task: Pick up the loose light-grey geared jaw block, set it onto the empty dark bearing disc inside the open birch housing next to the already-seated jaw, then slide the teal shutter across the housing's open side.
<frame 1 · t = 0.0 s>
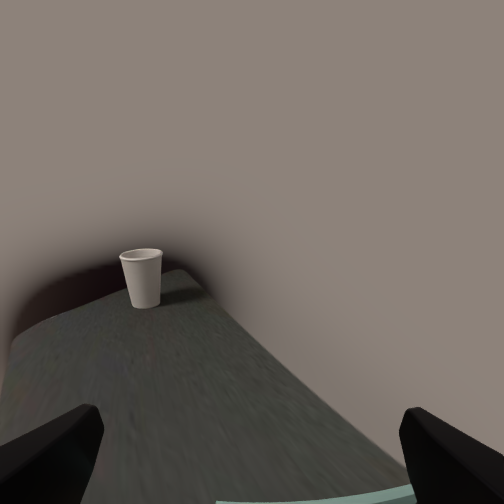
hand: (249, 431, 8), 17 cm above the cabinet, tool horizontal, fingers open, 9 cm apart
dixie cup: (146, 304, 60), on the cabinet
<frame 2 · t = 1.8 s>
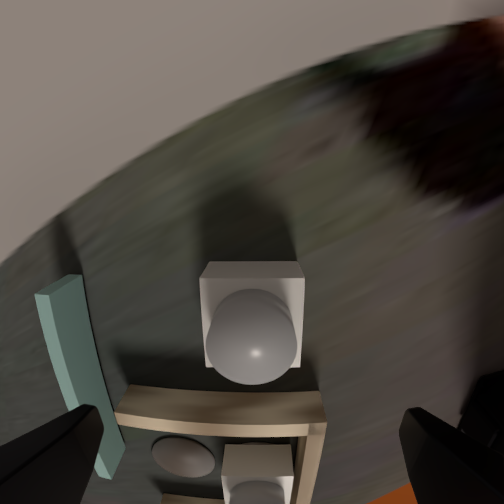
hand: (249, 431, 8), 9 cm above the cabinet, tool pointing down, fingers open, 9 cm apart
jaw b: (253, 301, 17), on the cabinet
jaw a: (257, 463, 20), resting on housing
shutter: (83, 390, 16), point 2 cm above the cabinet, slide at 7.5 cm
housing: (227, 461, 20), on the cabinet
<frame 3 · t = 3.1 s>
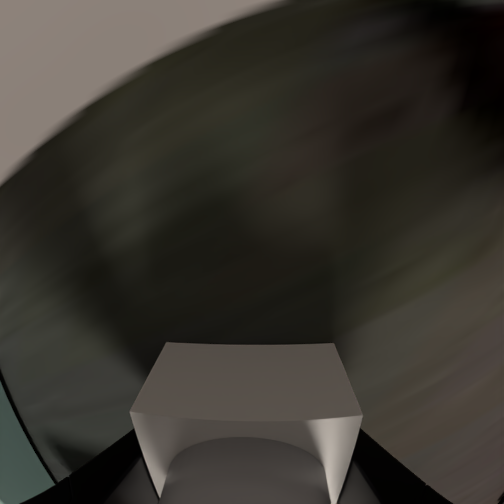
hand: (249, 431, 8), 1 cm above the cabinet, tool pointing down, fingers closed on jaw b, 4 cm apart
jaw b: (250, 408, 9), on the cabinet, touching gripper
shutter: (18, 484, 8), point 2 cm above the cabinet, slide at 7.5 cm
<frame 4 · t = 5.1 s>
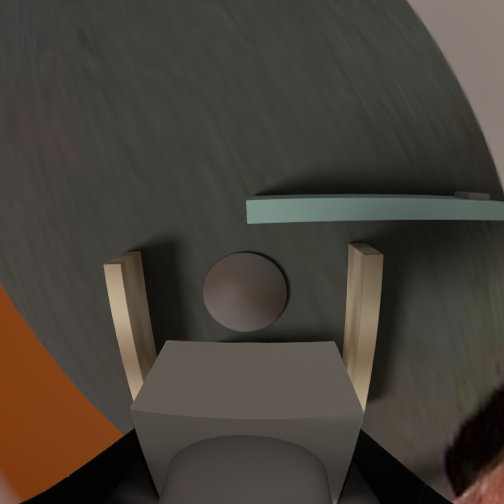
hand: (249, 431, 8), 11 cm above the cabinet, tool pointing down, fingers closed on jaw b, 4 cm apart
jaw b: (250, 407, 9), point 10 cm above the cabinet, touching gripper
shutter: (386, 202, 15), point 2 cm above the cabinet, slide at 7.5 cm
housing: (247, 343, 19), on the cabinet
when the fingers open (3 cm above the cabinet, at t = 7.0 s): jaw b drops 2 cm, resting on housing.
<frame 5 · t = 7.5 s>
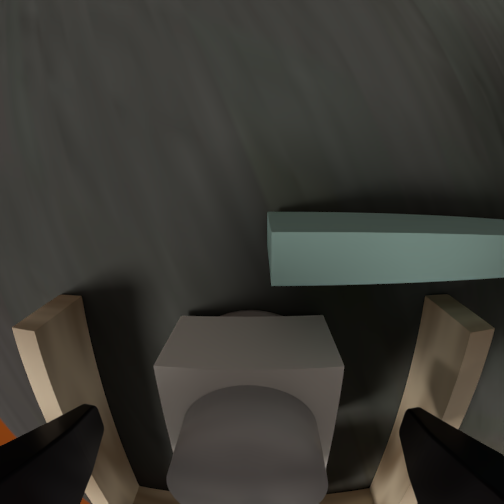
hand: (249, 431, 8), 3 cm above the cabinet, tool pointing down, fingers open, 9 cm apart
jaw b: (252, 375, 10), resting on housing
shutter: (502, 236, 7), point 2 cm above the cabinet, slide at 7.5 cm
housing: (252, 436, 11), on the cabinet
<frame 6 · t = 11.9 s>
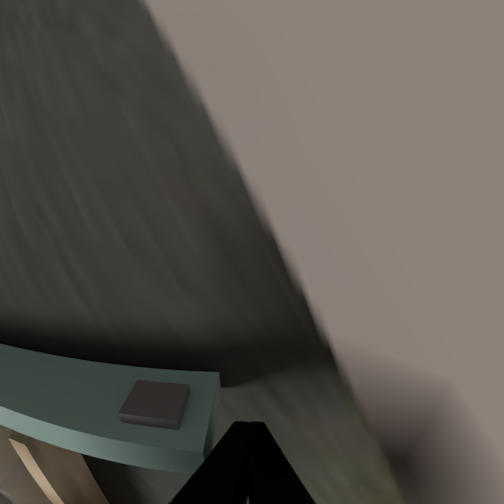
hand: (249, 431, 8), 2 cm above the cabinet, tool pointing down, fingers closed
jaw a: (20, 473, 13), resting on housing
shutter: (20, 382, 8), point 2 cm above the cabinet, slide at 7.4 cm, touching gripper
housing: (7, 450, 12), on the cabinet
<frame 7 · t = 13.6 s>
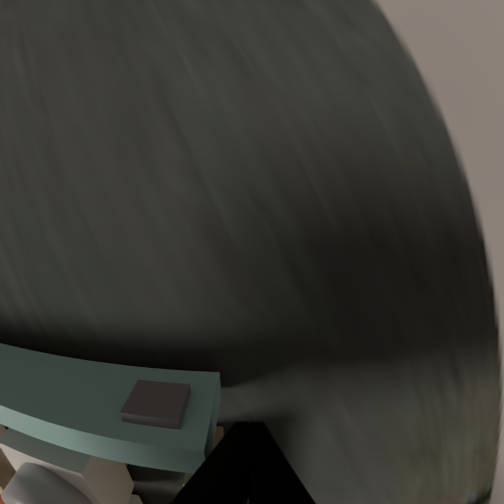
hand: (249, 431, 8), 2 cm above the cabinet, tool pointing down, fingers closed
jaw b: (80, 448, 11), resting on housing
shutter: (21, 382, 8), point 2 cm above the cabinet, slide at 0.1 cm, touching gripper
housing: (101, 484, 12), on the cabinet
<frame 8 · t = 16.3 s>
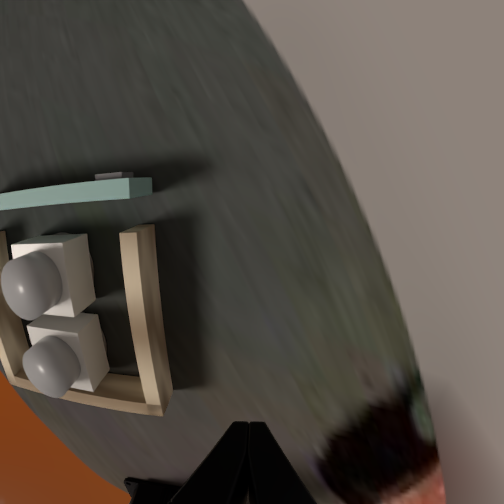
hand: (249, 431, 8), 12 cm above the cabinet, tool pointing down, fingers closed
jaw b: (64, 267, 19), resting on housing
jaw a: (78, 340, 21), resting on housing
shutter: (41, 193, 16), point 2 cm above the cabinet, slide at 0.1 cm
housing: (73, 311, 20), on the cabinet
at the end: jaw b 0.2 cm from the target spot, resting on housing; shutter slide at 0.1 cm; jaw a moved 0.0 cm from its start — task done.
